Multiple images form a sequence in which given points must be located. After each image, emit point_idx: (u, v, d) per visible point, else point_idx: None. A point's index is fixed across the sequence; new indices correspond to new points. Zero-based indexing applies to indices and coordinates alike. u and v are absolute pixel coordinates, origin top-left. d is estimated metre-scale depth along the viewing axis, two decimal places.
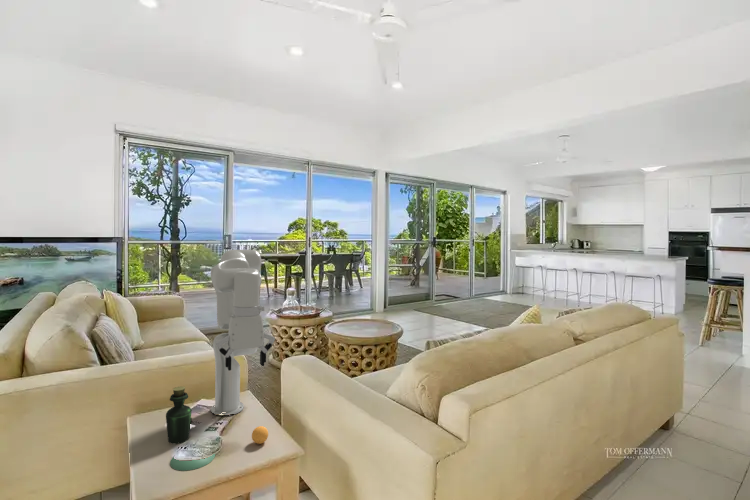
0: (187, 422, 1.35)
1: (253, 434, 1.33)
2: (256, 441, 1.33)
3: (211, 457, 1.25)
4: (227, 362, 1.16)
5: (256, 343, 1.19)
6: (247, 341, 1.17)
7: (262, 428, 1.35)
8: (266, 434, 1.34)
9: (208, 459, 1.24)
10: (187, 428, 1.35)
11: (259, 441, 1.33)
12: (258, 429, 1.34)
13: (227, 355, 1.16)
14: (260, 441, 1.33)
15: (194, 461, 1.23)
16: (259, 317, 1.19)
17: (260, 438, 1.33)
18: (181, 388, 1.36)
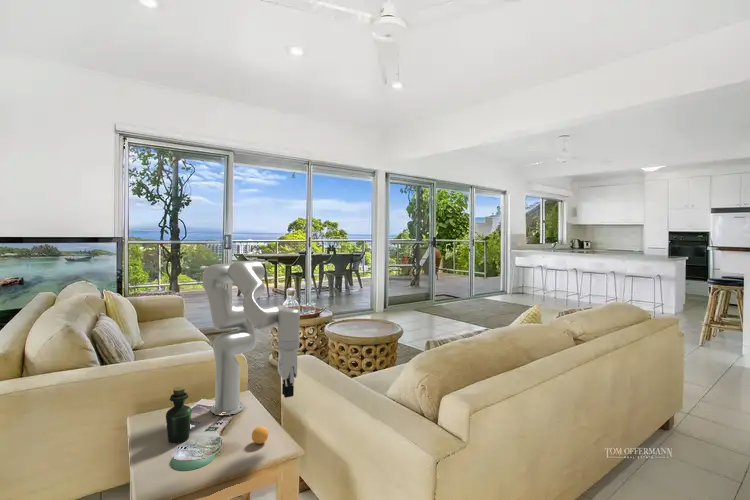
0: (187, 422, 1.35)
1: (253, 434, 1.33)
2: (256, 441, 1.33)
3: (211, 457, 1.25)
4: None
5: None
6: None
7: (262, 428, 1.35)
8: (266, 434, 1.34)
9: (208, 459, 1.24)
10: (187, 428, 1.35)
11: (259, 441, 1.33)
12: (258, 429, 1.34)
13: None
14: (260, 441, 1.33)
15: (194, 461, 1.23)
16: None
17: (260, 438, 1.33)
18: (181, 388, 1.36)
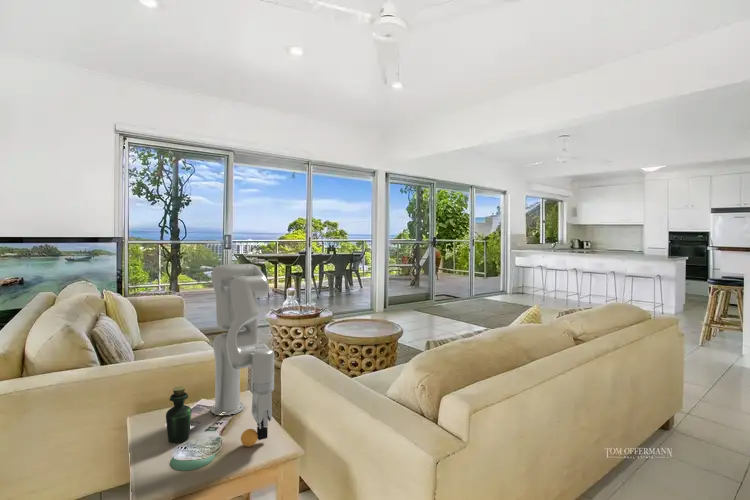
0: (187, 422, 1.35)
1: (243, 444, 1.32)
2: (250, 445, 1.32)
3: (211, 457, 1.25)
4: None
5: None
6: None
7: (244, 435, 1.31)
8: (251, 435, 1.32)
9: (208, 459, 1.24)
10: (187, 428, 1.35)
11: (252, 444, 1.31)
12: (242, 439, 1.31)
13: None
14: (253, 443, 1.32)
15: (194, 461, 1.23)
16: None
17: (250, 443, 1.31)
18: (181, 388, 1.36)
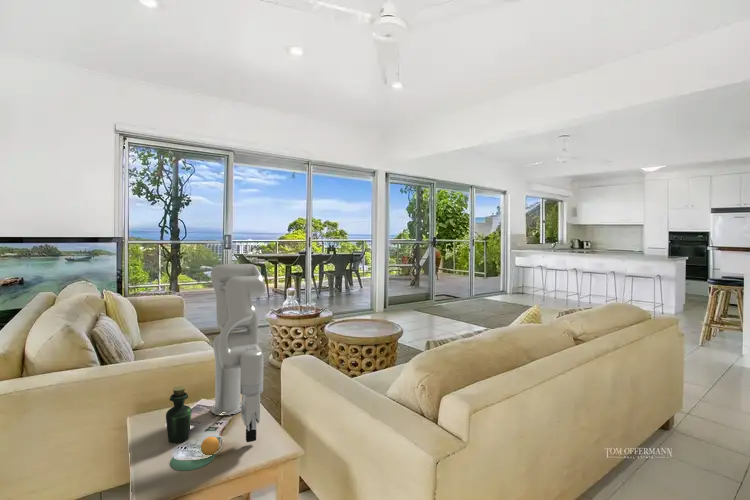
0: (187, 422, 1.35)
1: (206, 440, 1.26)
2: (203, 449, 1.25)
3: (211, 457, 1.25)
4: None
5: None
6: None
7: (217, 441, 1.27)
8: (215, 450, 1.26)
9: (208, 459, 1.24)
10: (187, 428, 1.35)
11: (206, 451, 1.25)
12: (214, 439, 1.27)
13: None
14: (206, 452, 1.25)
15: (194, 461, 1.23)
16: None
17: (208, 449, 1.25)
18: (181, 388, 1.36)
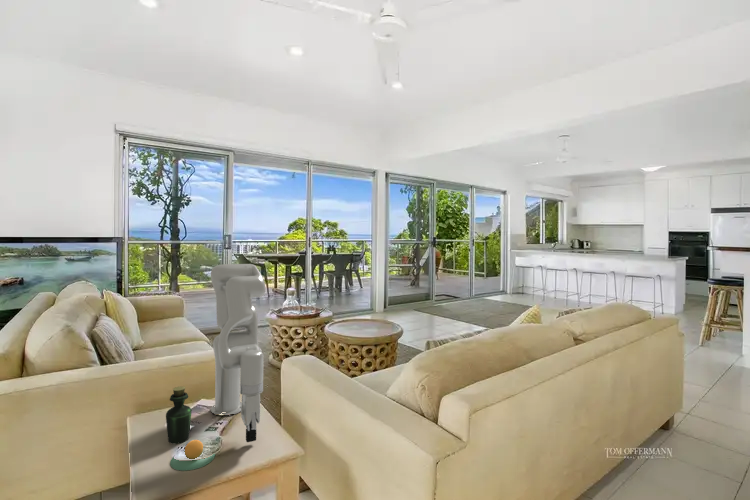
0: (187, 422, 1.35)
1: (186, 456, 1.24)
2: (194, 458, 1.24)
3: (211, 457, 1.25)
4: None
5: None
6: None
7: (188, 446, 1.23)
8: (196, 447, 1.24)
9: (208, 459, 1.24)
10: (187, 428, 1.35)
11: (196, 456, 1.23)
12: (185, 450, 1.23)
13: None
14: (197, 455, 1.24)
15: (194, 461, 1.23)
16: None
17: (193, 455, 1.23)
18: (181, 388, 1.36)
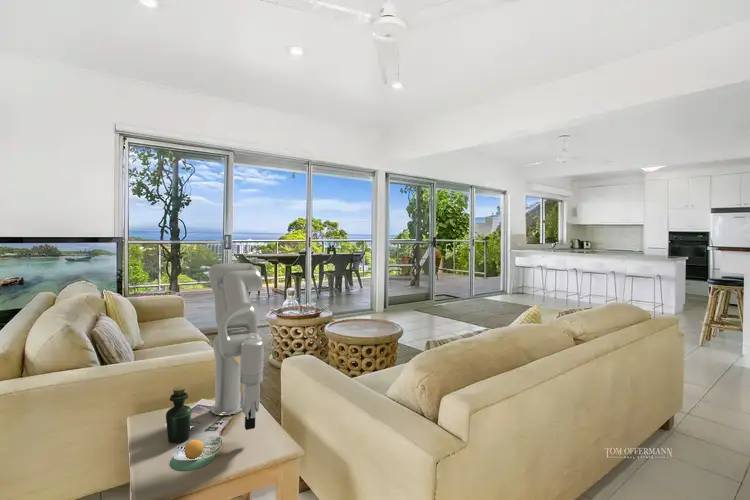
0: (187, 422, 1.35)
1: (186, 456, 1.24)
2: (194, 458, 1.24)
3: (211, 457, 1.25)
4: None
5: None
6: None
7: (188, 446, 1.23)
8: (196, 447, 1.24)
9: (208, 459, 1.24)
10: (187, 428, 1.35)
11: (196, 456, 1.23)
12: (185, 450, 1.23)
13: None
14: (197, 455, 1.24)
15: (194, 461, 1.23)
16: None
17: (193, 455, 1.23)
18: (181, 388, 1.36)
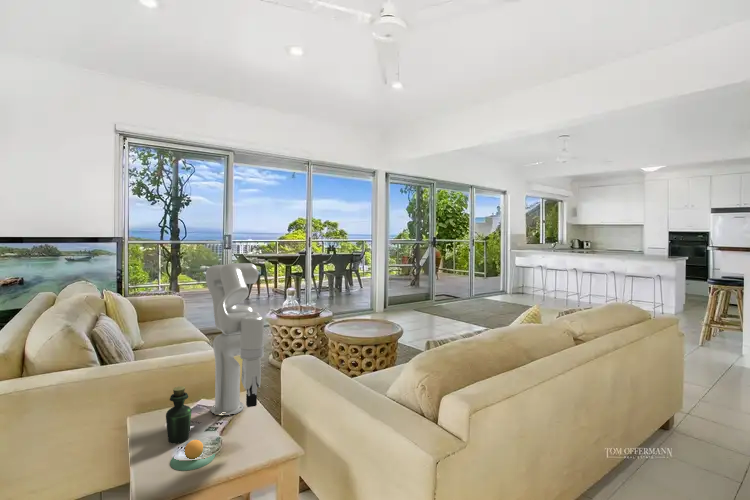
0: (187, 422, 1.35)
1: (186, 456, 1.24)
2: (194, 458, 1.24)
3: (211, 457, 1.25)
4: None
5: None
6: None
7: (188, 446, 1.23)
8: (196, 447, 1.24)
9: (208, 459, 1.24)
10: (187, 428, 1.35)
11: (196, 456, 1.23)
12: (185, 450, 1.23)
13: None
14: (197, 455, 1.24)
15: (194, 461, 1.23)
16: None
17: (193, 455, 1.23)
18: (181, 388, 1.36)
